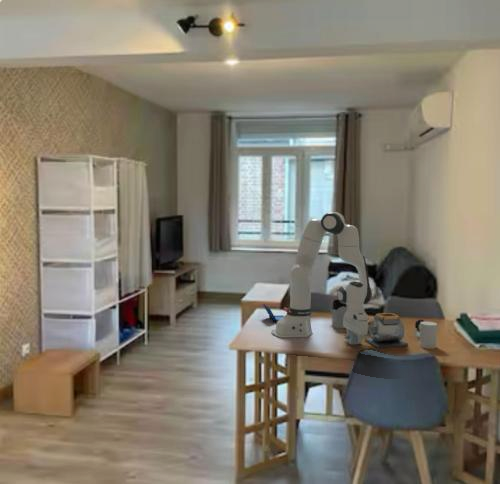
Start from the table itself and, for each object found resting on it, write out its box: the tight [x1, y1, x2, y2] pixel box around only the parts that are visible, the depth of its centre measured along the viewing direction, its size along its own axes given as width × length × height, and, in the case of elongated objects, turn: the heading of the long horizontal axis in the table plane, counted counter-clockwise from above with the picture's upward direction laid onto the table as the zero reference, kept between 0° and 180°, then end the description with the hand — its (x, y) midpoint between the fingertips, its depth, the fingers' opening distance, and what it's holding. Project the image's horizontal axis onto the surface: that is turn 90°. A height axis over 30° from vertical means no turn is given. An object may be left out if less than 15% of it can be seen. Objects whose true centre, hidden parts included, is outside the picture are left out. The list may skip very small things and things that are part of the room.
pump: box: [344, 332, 362, 346], centre depth 284 cm, size 8×4×5 cm, turn 108°
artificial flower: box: [413, 319, 426, 338], centre depth 303 cm, size 9×22×10 cm, turn 157°
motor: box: [364, 312, 409, 349], centre depth 284 cm, size 17×14×15 cm
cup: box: [418, 321, 438, 350], centre depth 280 cm, size 8×8×12 cm
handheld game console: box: [262, 303, 285, 324], centre depth 331 cm, size 16×13×9 cm
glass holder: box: [329, 299, 347, 329], centre depth 320 cm, size 9×14×15 cm, turn 24°
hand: (354, 339), depth 285 cm, fingers open, 8 cm apart
